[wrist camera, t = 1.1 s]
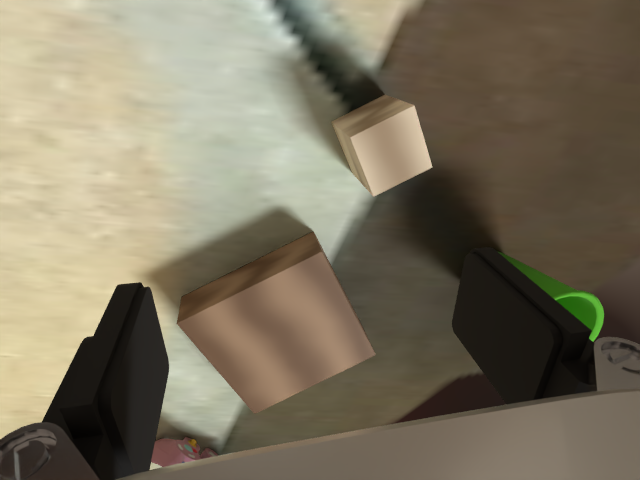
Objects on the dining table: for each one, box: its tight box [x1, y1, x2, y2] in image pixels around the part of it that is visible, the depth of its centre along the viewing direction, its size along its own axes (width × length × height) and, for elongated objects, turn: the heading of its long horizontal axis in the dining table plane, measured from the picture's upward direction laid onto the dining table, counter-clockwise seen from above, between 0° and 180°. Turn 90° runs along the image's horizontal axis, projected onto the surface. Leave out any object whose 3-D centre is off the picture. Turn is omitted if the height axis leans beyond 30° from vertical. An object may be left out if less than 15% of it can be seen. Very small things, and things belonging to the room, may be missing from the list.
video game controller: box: [151, 437, 218, 467], centre depth 45 cm, size 10×5×7 cm, turn 39°
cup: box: [498, 252, 604, 341], centre depth 39 cm, size 9×9×11 cm
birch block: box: [331, 95, 432, 197], centre depth 31 cm, size 5×5×6 cm
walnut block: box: [177, 231, 376, 414], centre depth 39 cm, size 14×14×4 cm
